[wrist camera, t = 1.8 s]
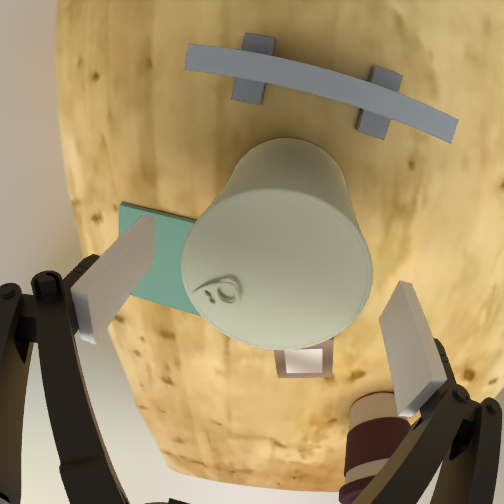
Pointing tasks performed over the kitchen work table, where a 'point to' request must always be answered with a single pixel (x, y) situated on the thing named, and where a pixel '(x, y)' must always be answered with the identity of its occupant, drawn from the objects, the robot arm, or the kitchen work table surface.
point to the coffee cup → (370, 441)
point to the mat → (162, 257)
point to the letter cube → (305, 361)
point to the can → (279, 250)
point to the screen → (320, 86)
